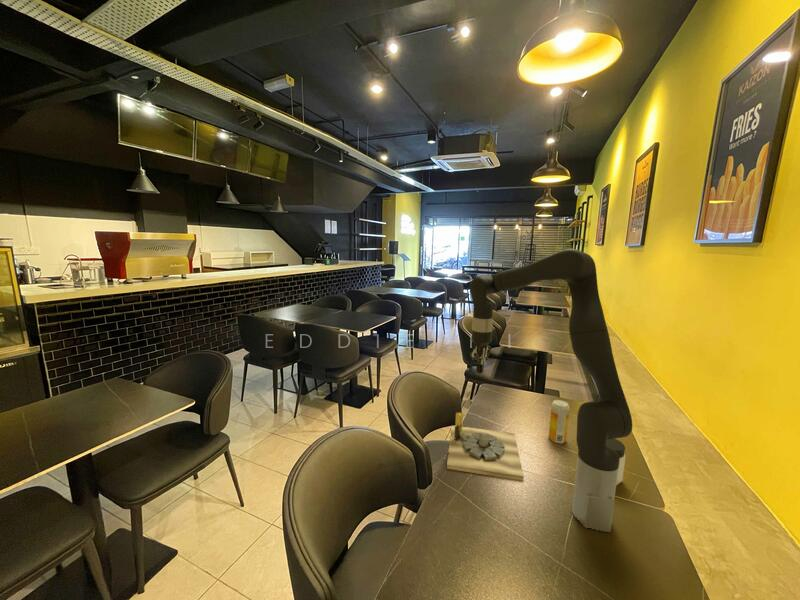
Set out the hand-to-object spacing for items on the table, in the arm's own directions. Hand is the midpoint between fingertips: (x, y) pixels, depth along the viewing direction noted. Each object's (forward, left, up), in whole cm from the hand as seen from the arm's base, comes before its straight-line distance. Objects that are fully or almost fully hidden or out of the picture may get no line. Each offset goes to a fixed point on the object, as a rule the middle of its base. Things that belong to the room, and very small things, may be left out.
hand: (479, 372), depth 122 cm
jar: (-16, -40, -25) cm, 50 cm away
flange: (-11, 0, -23) cm, 26 cm away
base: (-12, -2, -25) cm, 28 cm away
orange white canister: (+2, -30, -25) cm, 39 cm away
